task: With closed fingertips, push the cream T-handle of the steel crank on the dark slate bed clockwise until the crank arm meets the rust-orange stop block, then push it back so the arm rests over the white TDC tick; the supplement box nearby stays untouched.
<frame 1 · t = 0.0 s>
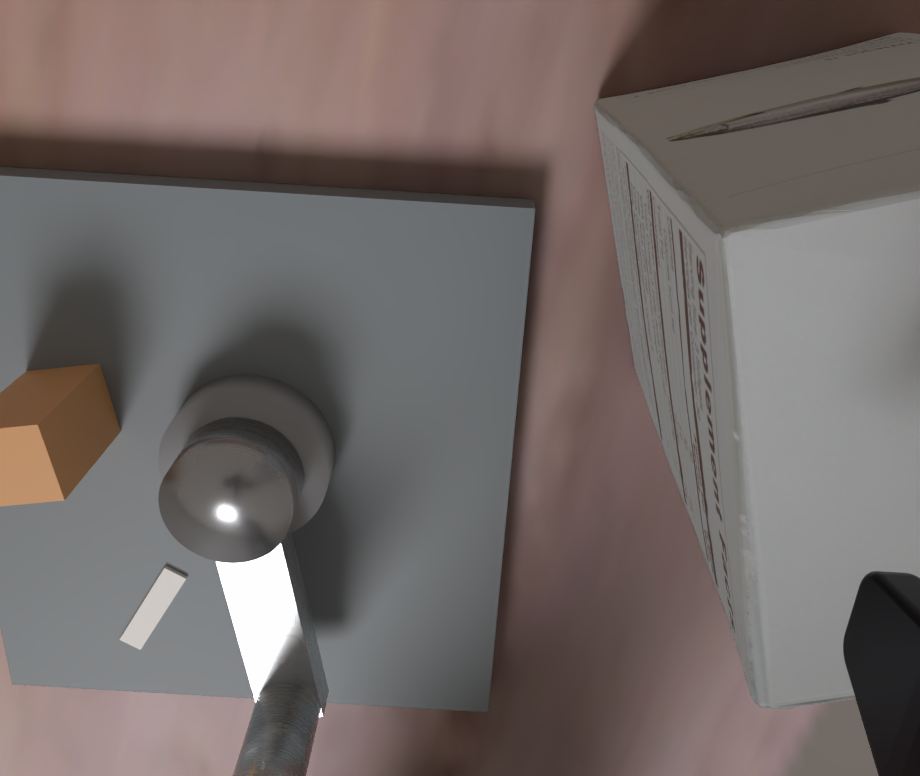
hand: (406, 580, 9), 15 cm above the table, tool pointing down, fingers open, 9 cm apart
crank: (237, 668, 21), point 6 cm above the table, hinge at 0.0°
crank bed: (246, 461, 25), on the table
supplement box: (750, 210, 22), on the table
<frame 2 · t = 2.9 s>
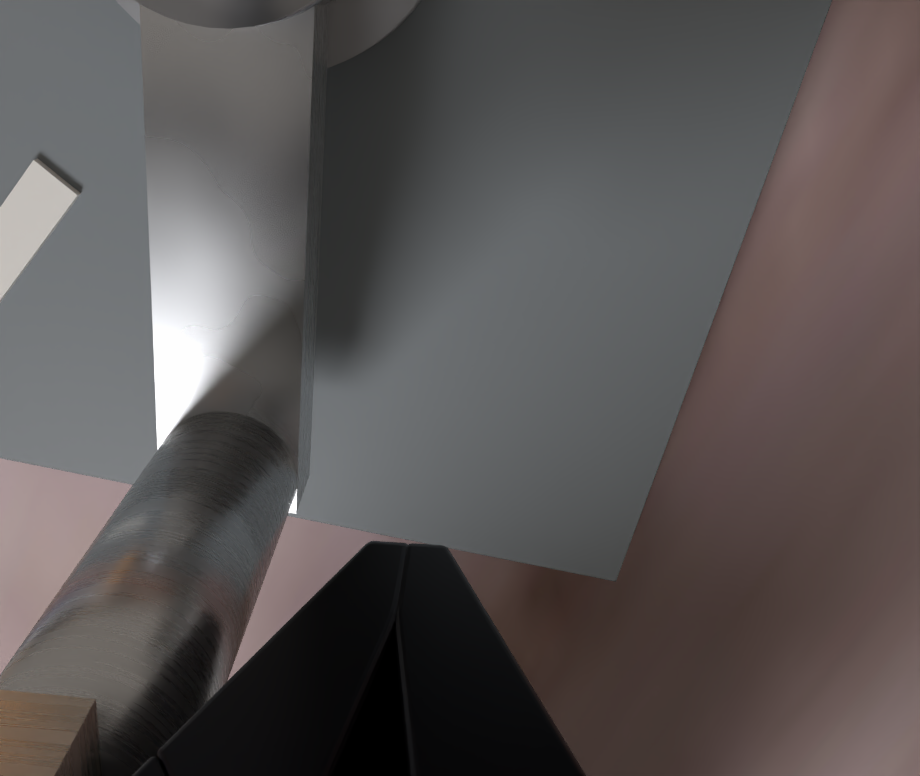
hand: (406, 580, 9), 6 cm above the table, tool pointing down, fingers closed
crank: (151, 254, 7), point 6 cm above the table, hinge at -3.5°, touching gripper
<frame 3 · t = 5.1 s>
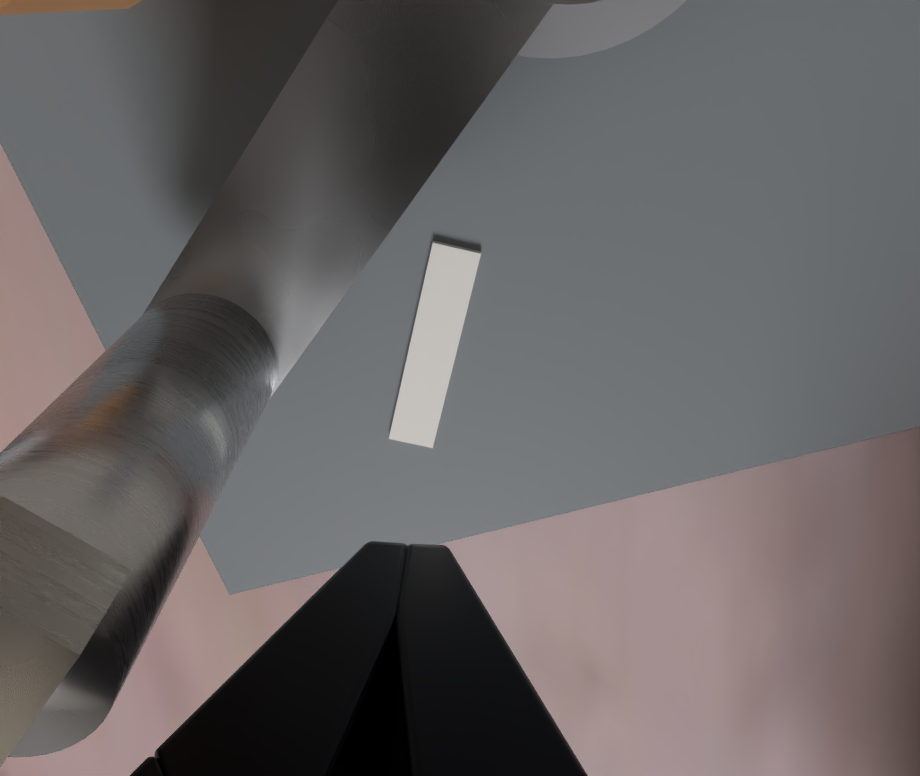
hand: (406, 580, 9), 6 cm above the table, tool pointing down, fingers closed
crank: (335, 153, 7), point 6 cm above the table, hinge at -63.4°, touching gripper
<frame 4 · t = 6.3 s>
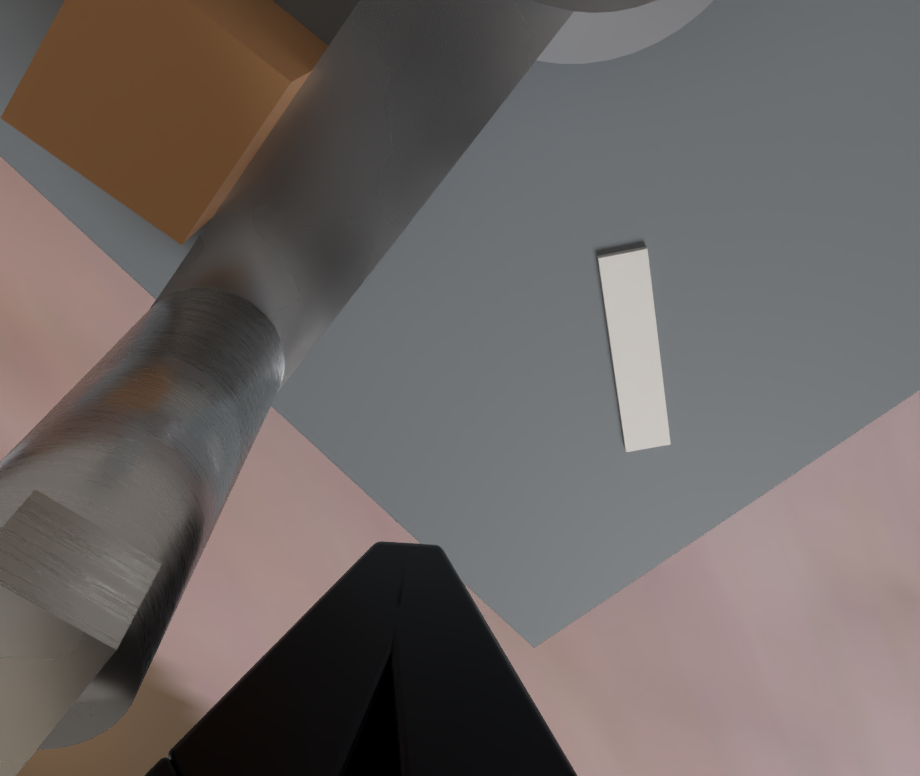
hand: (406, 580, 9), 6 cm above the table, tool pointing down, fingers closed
crank: (363, 154, 7), point 6 cm above the table, hinge at -90.0°, touching crank bed, gripper
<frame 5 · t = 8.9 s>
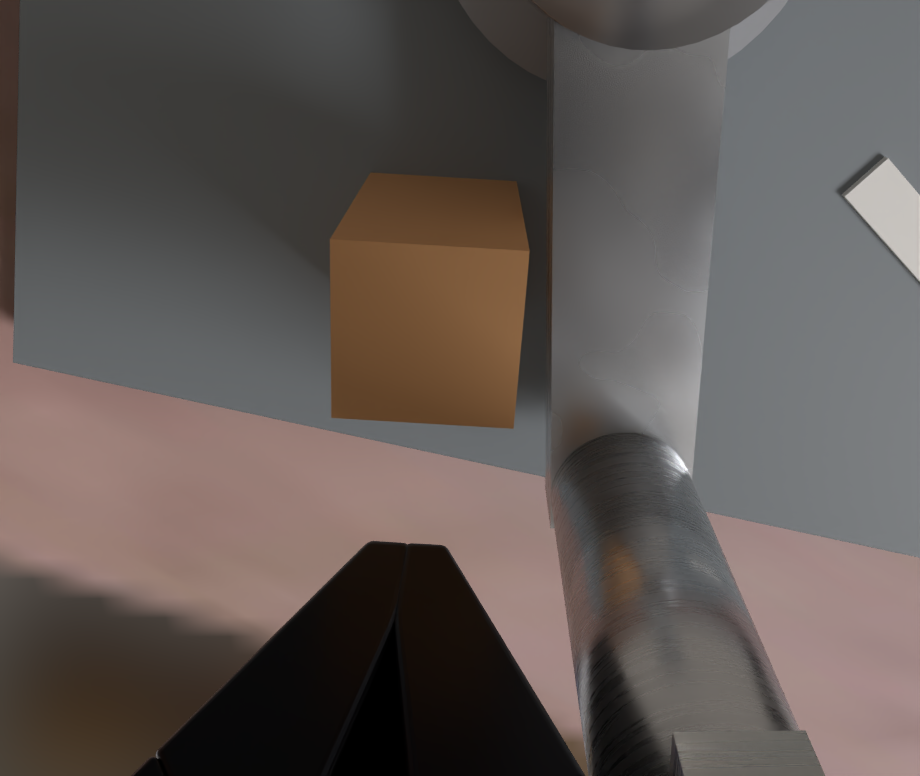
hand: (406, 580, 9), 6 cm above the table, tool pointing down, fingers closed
crank: (680, 282, 7), point 6 cm above the table, hinge at -84.6°, touching gripper
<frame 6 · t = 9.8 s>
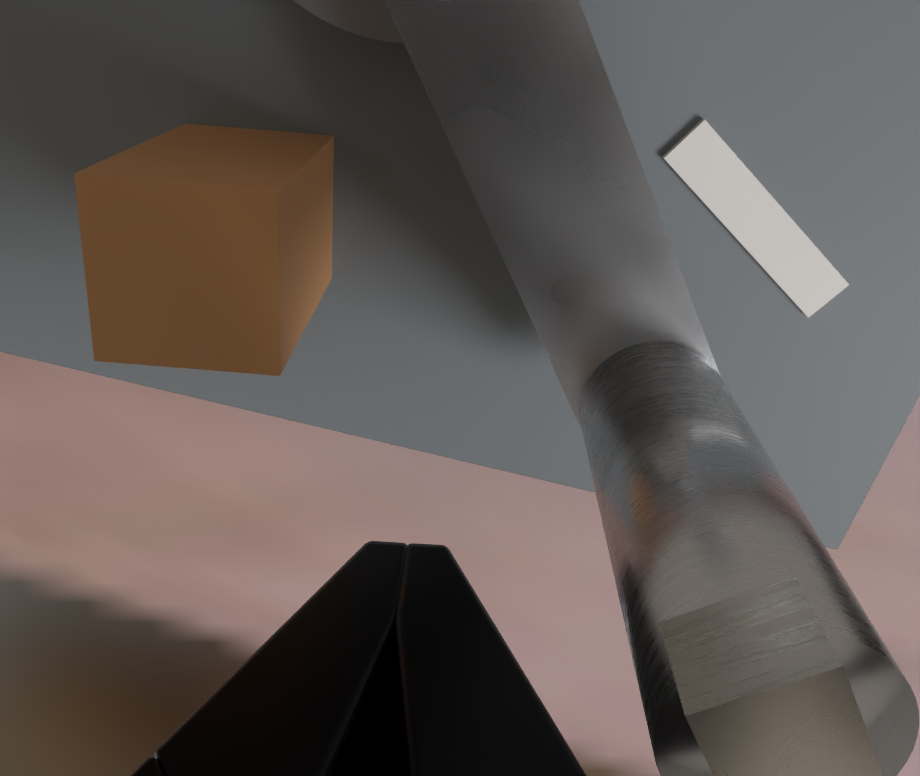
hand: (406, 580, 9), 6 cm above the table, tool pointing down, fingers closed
crank: (553, 177, 7), point 6 cm above the table, hinge at -60.5°, touching gripper
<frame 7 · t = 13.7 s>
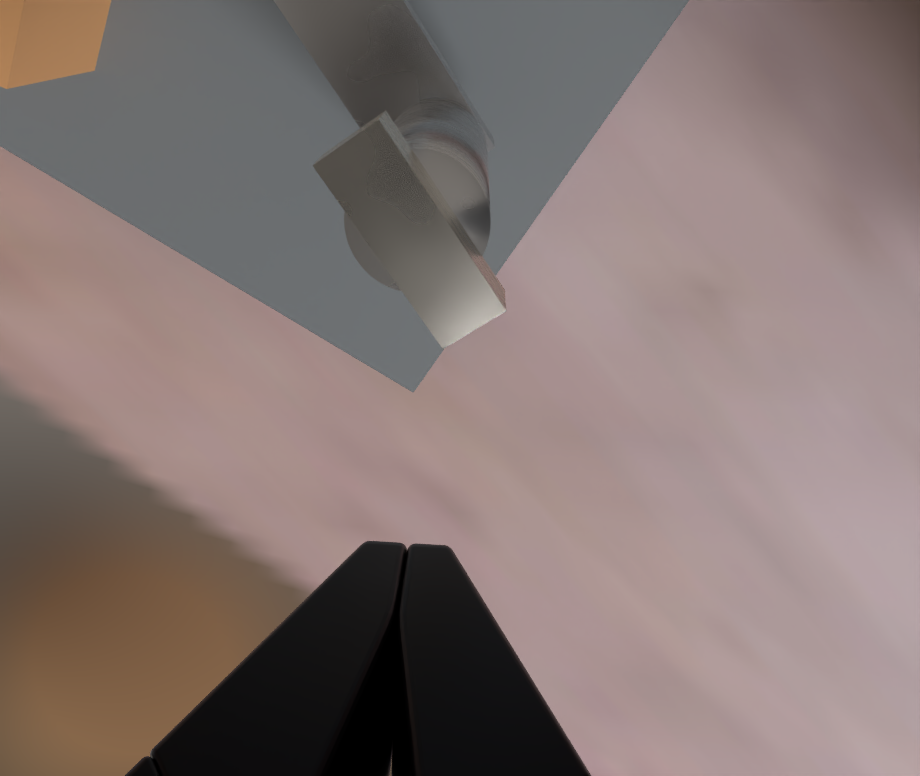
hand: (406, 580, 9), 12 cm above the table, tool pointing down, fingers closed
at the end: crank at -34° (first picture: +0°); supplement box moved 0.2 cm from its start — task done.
